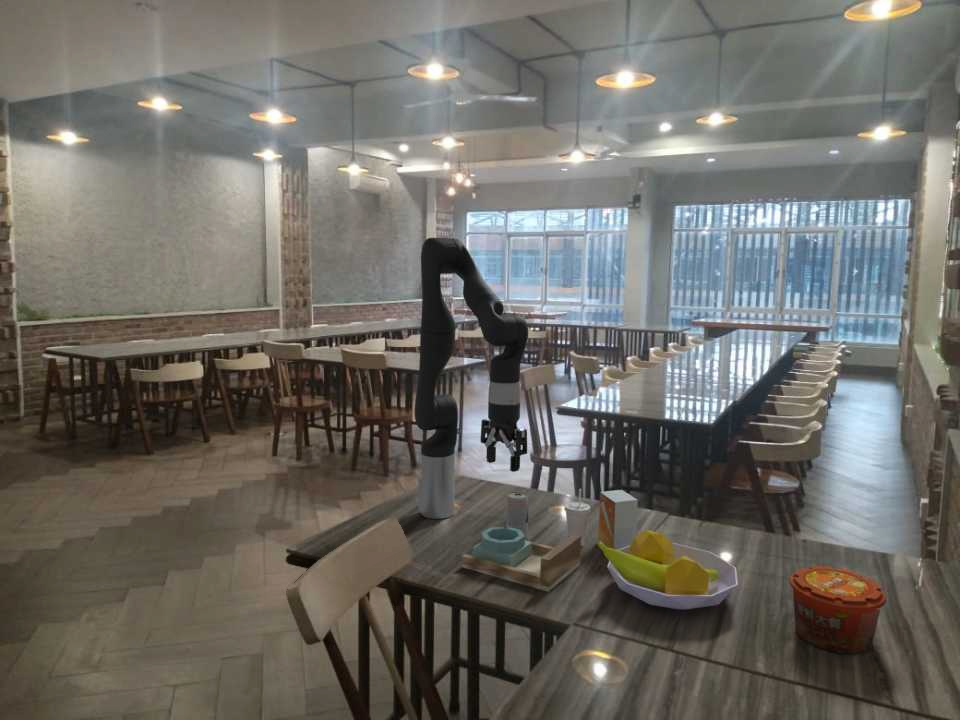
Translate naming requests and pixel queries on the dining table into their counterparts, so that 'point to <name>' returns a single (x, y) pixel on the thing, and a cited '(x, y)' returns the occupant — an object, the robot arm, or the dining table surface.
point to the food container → (836, 608)
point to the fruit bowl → (670, 572)
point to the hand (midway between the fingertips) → (502, 466)
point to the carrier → (503, 546)
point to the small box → (617, 519)
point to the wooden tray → (534, 564)
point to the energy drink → (518, 512)
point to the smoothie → (577, 518)
